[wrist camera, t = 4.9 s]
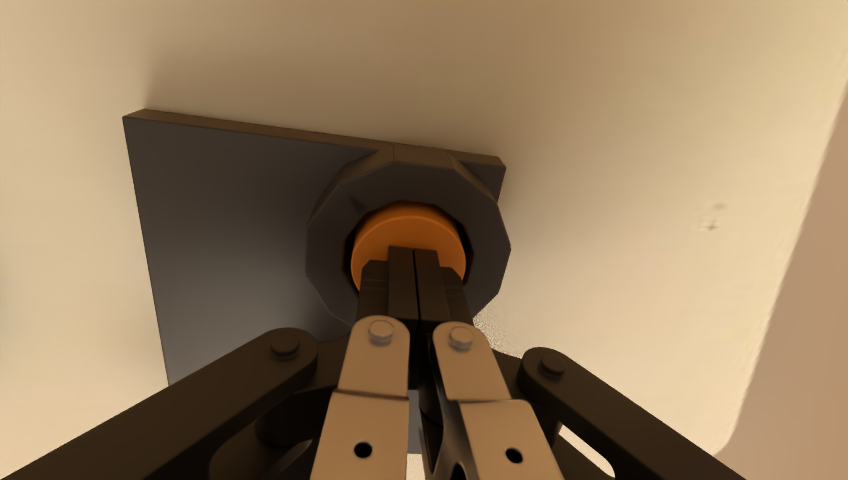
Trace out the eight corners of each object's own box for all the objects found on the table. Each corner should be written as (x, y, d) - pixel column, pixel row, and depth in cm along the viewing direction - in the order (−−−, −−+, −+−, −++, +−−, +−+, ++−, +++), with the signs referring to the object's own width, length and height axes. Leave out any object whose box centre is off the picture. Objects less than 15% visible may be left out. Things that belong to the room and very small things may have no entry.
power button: (360, 184, 14) (355, 209, 12) (466, 197, 14) (476, 223, 12) (352, 276, 15) (346, 310, 14) (447, 284, 16) (454, 319, 14)
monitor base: (140, 100, 13) (78, 120, 11) (507, 150, 15) (532, 178, 12) (189, 423, 20) (159, 484, 18) (436, 434, 22) (443, 491, 19)
